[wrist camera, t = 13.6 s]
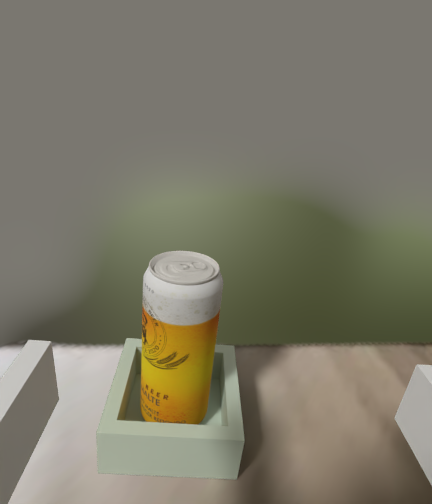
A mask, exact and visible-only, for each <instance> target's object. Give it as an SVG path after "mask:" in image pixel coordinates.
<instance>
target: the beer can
mask: <svg viewBox="0 0 432 504" xmlns="http://www.w3.org/2000/svg"><path fill="white" fill-rule="evenodd" d="M222 288H223V279H222V276H221V273H220V271H219V265H218V263H217V262H216V261H215V260H213V259H212V258H210V257H208V256H206V255H203V254H200V253H196V252H189V251H170V252H165V253H161V254H159V255H157V256H155V257H154V258H152V259H151V261H150V263H149V267H148V269H147V270H146V272H145V274H144V277H143V314H142V357H141V401H140V408H141V414H142V416H143V418H144V419H145V421H146V422H159V423H177V424H195V425H198V424H200V423H201V421H202V420H203V419H204V417H205V415H206V413H207V408H208V400H209V392H210V384H211V376H212V368H213V361H214V353H215V345H216V337H217V328H218V321H219V312H220V305H221V296H222Z"/></svg>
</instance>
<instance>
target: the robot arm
mask: <svg viewBox="0 0 432 504" xmlns="http://www.w3.org/2000/svg"><path fill="white" fill-rule="evenodd" d="M58 400H59V396H58V389H57V381H56V374H55V366H54V358H53V351H52V343H51V341H37V340H29V341H28V342H27V343H26V345H25V346H24V347H23V349H22V350H21V352H20V353H19V354H18V356H17V357H16V358H15V360H14V361H13V363H12V364H11V365H10V367H9V368H8V369H7V371H6V372H5V374H4V375H3V376H2V378H1V379H0V504H8V502H9V500H10V498H11V496H12V493H13V491H14V489H15V487H16V485H17V483H18V481H19V479H20V477H21V475H22V473H23V471H24V469H25V467H26V465H27V463H28V461H29V459H30V457H31V455H32V453H33V451H34V449H35V447H36V445H37V443H38V441H39V439H40V437H41V435H42V433H43V431H44V429H45V427H46V425H47V422H48V420H49V418H50V416H51V414H52V412H53V410H54V408H55V406H56V404H57V402H58ZM395 420H396V422H397V424H398V426H399V427H400V429H401V431H402V433H403V435H404V437H405V438H406V440H407V442H408V444H409V446H410V447H411V449H412V451H413V453H414V455H415V457H416V458H417V460H418V462H419V464H420V466H421V467H422V469H423V471H424V473H425V475H426V477H427V478H428V480H429V482H430V484H431V486H432V365H416V367H415V370H414V372H413V375H412V377H411V379H410V382H409V384H408V387H407V389H406V391H405V394H404V396H403V399H402V401H401V404H400V406H399V408H398V411H397V413H396V416H395Z"/></svg>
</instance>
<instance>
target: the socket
mask: <svg viewBox="0 0 432 504" xmlns="http://www.w3.org/2000/svg"><path fill="white" fill-rule="evenodd" d="M141 357H142V339H131V338H127V339H126V342H125V345H124V348H123V351H122V354H121V357H120V360H119V364H118V367H117V370H116V373H115V376H114V379H113V382H112V385H111V389H110V392H109V395H108V398H107V401H106V404H105V407H104V410H103V413H102V417H101V420H100V423H99V426H98V429H97V432H96V439H97V464H98V473H104V474H126V475H148V476H170V477H192V478H214V479H235V480H237V476H238V471H239V466H240V462H241V457H242V452H243V447H244V442H245V439H244V430H243V421H242V412H241V403H240V394H239V384H238V375H237V366H236V357H235V348H234V346H230V345H215V353H214V361H213V368H212V376H211V384H210V392H209V400H208V408H207V413H206V415H205V417H204V419H203V420H202V421H201V423H200V424H198V425H195V424H177V423H159V422H146V421H145V419H144V418H143V416H142V414H141V408H140V401H141Z"/></svg>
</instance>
